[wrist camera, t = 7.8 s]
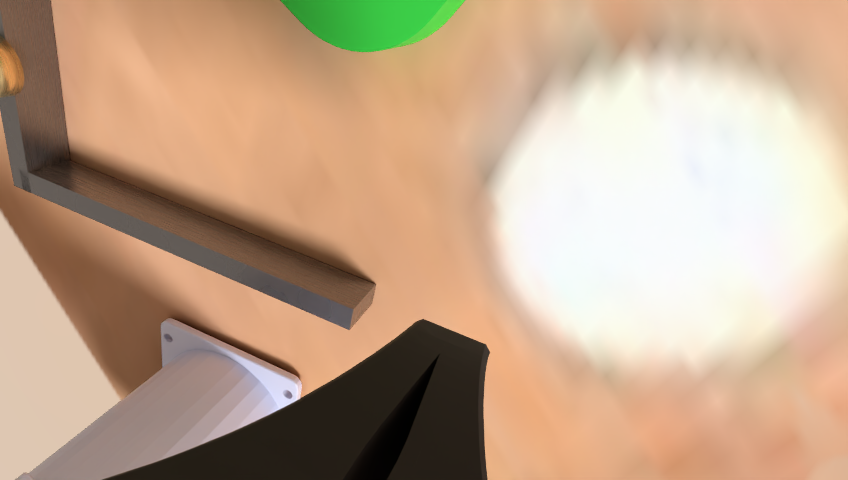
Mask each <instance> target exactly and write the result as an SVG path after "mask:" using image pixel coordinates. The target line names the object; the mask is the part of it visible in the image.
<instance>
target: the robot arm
mask: <svg viewBox="0 0 848 480" xmlns="http://www.w3.org/2000/svg"><path fill="white" fill-rule="evenodd" d="M161 346H162V369H160V370H159V371H158V372H157V373H155V374H154V375H153V376H151V377H150V378H149V379H148V380H146V381H145V382H144V383H143V384H141V385H140V386H139V387H138V388H136V389H135V390H134V391H132V392H131V393H130V394H129V395H127V396H126V397H125V398H124V399H122V400H121V401H120V402H118V403H117V404H116V405H115V406H113V407H112V408H111V409H110V410H109V411H107V412H106V413H105V414H103V415H102V416H101V417H99V418H98V419H97V420H96V421H94V422H93V423H92V424H91V425H89V426H88V427H87V428H85V429H84V430H83V431H82V432H81V433H79V434H78V435H77V436H75V437H74V438H73V439H71V440H70V441H69V442H68V443H67V444H65V445H64V446H63V447H61V448H60V449H59V450H58V451H56V452H55V453H54V454H53V455H51V456H50V457H49V458H47V459H46V460H45V461H44V462H42V463H41V464H40V465H39V466H37V467H36V468H35V469H33V470H32V471H31V472H30V473H23V474H22V475H21V476H19V477H18V478H17V479H15V480H487V471H486V460H485V446H484V419H483V399H484V381H485V371H486V365H487V360H488V356H489V353H490V351H489V350H488V348H487V346H486V344H483V343H481V342H478V341H476V340H473V339H471V338H468V337H466V336H463V335H461V334H459V333H456V332H454V331H451V330H449V329H446V328H444V327H441V326H439V325H437V324H434V323H432V322H429V321H427V320H424V319H422V320H419V321H417V322H415V323H414V324H413V325H412V326H410V327H409V328H408V329H407V330H405V331H404V332H403V333H402V334H400V335H399V336H398V337H396V338H395V339H394V340H392V341H391V342H390V343H388V344H387V345H385V346H384V347H383V348H381V349H380V350H378V351H377V352H375V353H374V354H373V355H371V356H370V357H368V358H366V359H365V360H363V361H362V362H360V363H359V364H357V365H356V366H354V367H353V368H351V369H350V370H348V371H347V372H345V373H343V374H342V375H340V376H339V377H337V378H335V379H334V380H332V381H330V382H328V383H327V384H325V385H323V386H321V387H320V388H318V389H316V390H314V391H313V392H311V393H309V394H307V395H306V396H304V397H302V398H300V396H301V389H302V383H301V381H300V379H299V378H298V377H297V376H295V375H293V374H291V373H289V372H287V371H285V370H283V369H281V368H278V367H276V366H274V365H272V364H270V363H268V362H265V361H263V360H261V359H259V358H257V357H255V356H252V355H250V354H248V353H246V352H244V351H242V350H239V349H237V348H235V347H233V346H231V345H229V344H226V343H224V342H222V341H220V340H218V339H216V338H213V337H211V336H209V335H207V334H205V333H203V332H200V331H198V330H196V329H194V328H192V327H190V326H188V325H185V324H183V323H181V322H179V321H177V320H175V319H171V318H168V319H166V320H165V321H163V322H162V323H161Z"/></svg>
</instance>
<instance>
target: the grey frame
mask: <svg viewBox="0 0 848 480" xmlns="http://www.w3.org/2000/svg"><path fill="white" fill-rule="evenodd" d="M0 111H1V116H2V122H3V127H4V133H5V138H6V143H7V149H8V154H9V160H10V165H11V170H12V176H13V181H14V186H16V187H19V188H21V189H23V190H26V191H28V192H30V193H33V194H35V195H37V196H40V197H42V198H44V199H47V200H49V201H51V202H53V203H56V204H58V205H60V206H63V207H65V208H67V209H70V210H72V211H74V212H77V213H79V214H81V215H84V216H86V217H88V218H91V219H93V220H95V221H98V222H100V223H102V224H105V225H107V226H109V227H111V228H114V229H116V230H118V231H121V232H123V233H125V234H128V235H130V236H132V237H135V238H137V239H139V240H142V241H144V242H146V243H149V244H151V245H153V246H156V247H158V248H160V249H163V250H165V251H167V252H169V253H172V254H174V255H176V256H179V257H181V258H183V259H186V260H188V261H190V262H193V263H195V264H197V265H200V266H202V267H204V268H207V269H209V270H211V271H214V272H216V273H218V274H221V275H223V276H225V277H227V278H230V279H232V280H234V281H237V282H239V283H241V284H244V285H246V286H248V287H251V288H253V289H255V290H258V291H260V292H262V293H265V294H267V295H269V296H272V297H274V298H276V299H279V300H281V301H283V302H285V303H288V304H290V305H292V306H295V307H297V308H299V309H302V310H304V311H306V312H309V313H311V314H313V315H316V316H318V317H320V318H323V319H325V320H327V321H330V322H332V323H334V324H337V325H339V326H341V327H343V328H346V329H348V330H350V329H351V328H352V327H353V325H354V324H355V323H356V322H357V321H358V319H359V318H360V317H361V316H362V315H363V314H364V312H365V311H366V310H367V309H368V308H369V307H370V305H371V304H372V300H373V296H374V291H375V286H376V284H374V283H371V282H369V281H366V280H364V279H361V278H359V277H357V276H354V275H352V274H349V273H347V272H344V271H342V270H339V269H337V268H334V267H332V266H329V265H327V264H325V263H322V262H320V261H317V260H315V259H312V258H310V257H307V256H305V255H302V254H300V253H297V252H295V251H292V250H290V249H288V248H285V247H283V246H280V245H278V244H275V243H273V242H270V241H268V240H265V239H263V238H260V237H258V236H256V235H253V234H251V233H248V232H246V231H243V230H241V229H238V228H236V227H233V226H231V225H228V224H226V223H223V222H221V221H219V220H216V219H214V218H211V217H209V216H206V215H204V214H201V213H199V212H196V211H194V210H191V209H189V208H187V207H184V206H182V205H179V204H177V203H174V202H172V201H169V200H167V199H164V198H162V197H159V196H157V195H154V194H152V193H150V192H147V191H145V190H142V189H140V188H137V187H135V186H132V185H130V184H127V183H125V182H122V181H120V180H118V179H115V178H113V177H110V176H108V175H105V174H103V173H100V172H98V171H95V170H93V169H90V168H88V167H86V166H83V165H81V164H78V163H76V162H73V161H71V160H70V156H69V147H68V139H67V131H66V123H65V115H64V107H63V99H62V91H61V83H60V75H59V67H58V59H57V51H56V43H55V35H54V27H53V19H52V11H51V3H50V0H0Z"/></svg>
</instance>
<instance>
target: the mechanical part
mask: <svg viewBox="0 0 848 480" xmlns="http://www.w3.org/2000/svg"><path fill="white" fill-rule="evenodd" d="M280 1H281V2H282V3H283V4H284V5H285V6H286V7H287V8H288V9H289V10H290V11H291V12H292V13H293V14H294V16H295V17H296V18H297V19H298V20H299V21H300V22H301V23H302V24H303V25H304V26H305V27H306V28H307V29H308V30H310V31H311V32H312V33H313V34H315V35H316V36H317V37H319V38H321V39H322V40H324V41H326V42H328V43H330V44H332V45H334V46H336V47H339V48H342V49H346V50H350V51H357V52H374V51H381V50H386V49H391V48H396V47H401V46H405V45H409V44H413V43H415V42H418V41H420V40H422V39H424V38H426V37H428V36H430V35H431V34H432V33H434V32H435V31H437V30H438V29H439V28H440V27H442V26H443V25H444V24H445V23H446V22H447V21H448V20H449V19H450V18H451V16H452V15H453V14H454V13H455V12H456V11H457V9H458V8H459V7H460V6H461V5H462V3H463V2H464V1H465V0H280Z"/></svg>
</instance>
